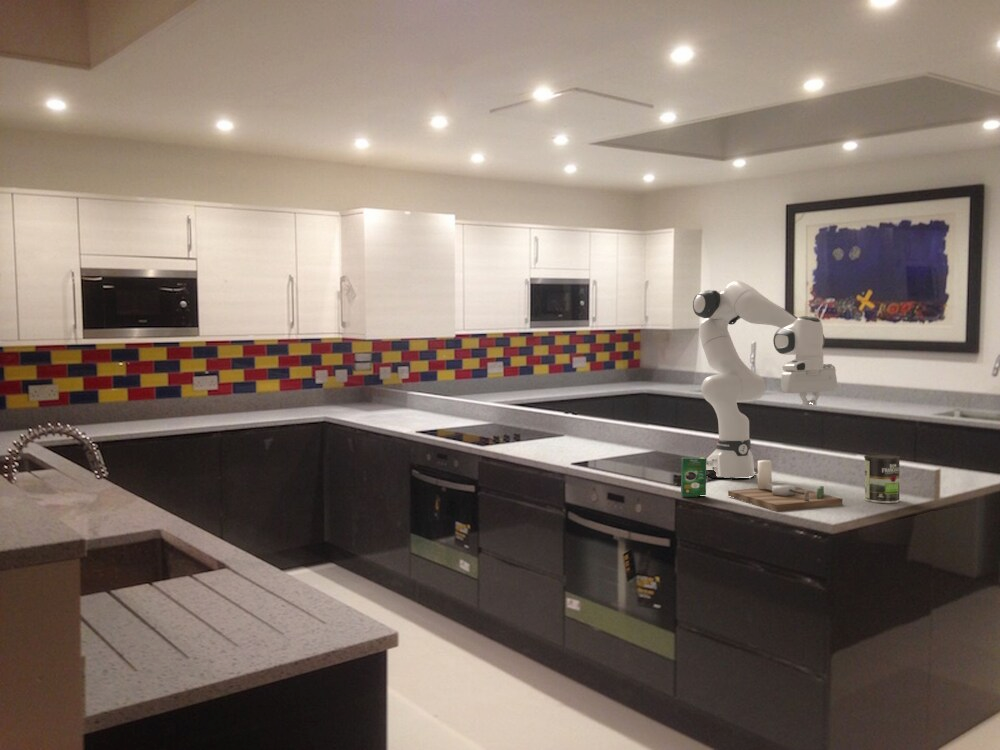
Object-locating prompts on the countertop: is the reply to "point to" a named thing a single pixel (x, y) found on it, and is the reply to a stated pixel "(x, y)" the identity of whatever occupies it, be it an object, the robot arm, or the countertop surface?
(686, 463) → the coffee box
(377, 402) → the countertop surface
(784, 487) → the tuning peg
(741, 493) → the board
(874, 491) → the coffee can
